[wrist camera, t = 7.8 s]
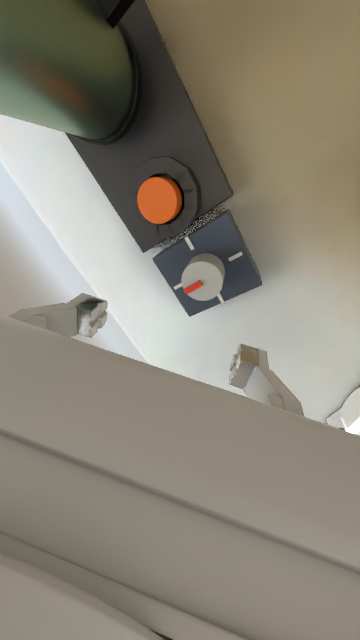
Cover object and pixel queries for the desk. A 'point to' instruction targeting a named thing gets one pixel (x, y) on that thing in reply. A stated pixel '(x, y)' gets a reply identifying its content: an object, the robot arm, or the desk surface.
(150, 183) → the power button
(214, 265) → the temp dial
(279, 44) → the desk surface
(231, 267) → the control pad
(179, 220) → the kettle base
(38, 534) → the robot arm
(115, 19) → the kettle
